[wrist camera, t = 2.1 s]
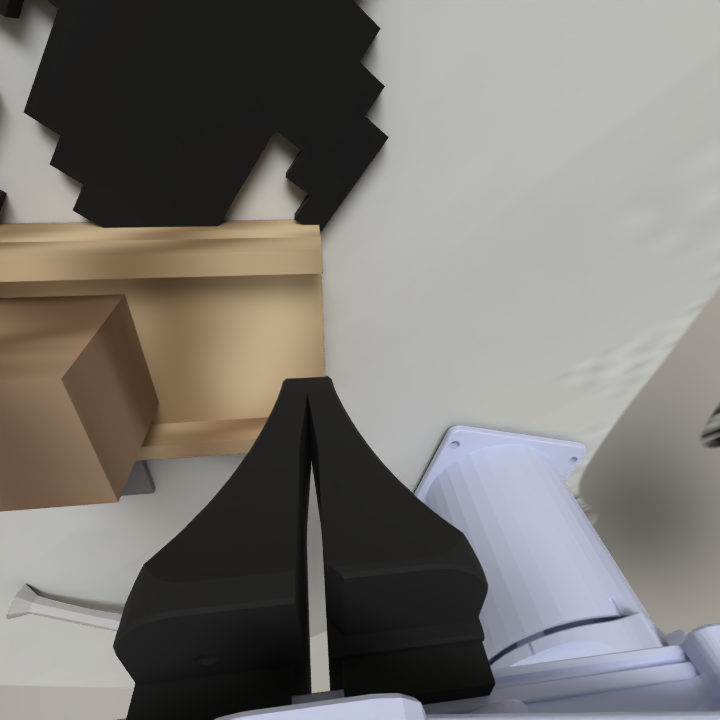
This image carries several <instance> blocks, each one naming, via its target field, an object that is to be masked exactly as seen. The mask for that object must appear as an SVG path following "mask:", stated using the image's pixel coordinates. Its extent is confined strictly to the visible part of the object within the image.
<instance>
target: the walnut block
mask: <svg viewBox="0 0 720 720" xmlns="http://www.w3.org/2000/svg"><path fill="white" fill-rule="evenodd" d="M158 404H159V401H158V398H157V394H156V391H155V388H154V385H153V382H152V379H151V375H150V372H149V369H148V366H147V363H146V360H145V356H144V353H143V350H142V347H141V344H140V340H139V337H138V334H137V331H136V328H135V325H134V321H133V318H132V315H131V312H130V309H129V306H128V302H127V299H126V296H125V294H116V295H83V296H49V297H16V298H0V511H12V510H25V509H38V508H50V507H63V506H76V505H88V504H101V503H114V502H119V499H120V497H121V494H122V492H123V489H124V487H125V485H126V482H127V480H128V477H129V475H130V472H131V470H132V468H133V465H134V463H135V460H136V458H137V455H138V453H139V450H140V448H141V446H142V443H143V441H144V438H145V436H146V433H147V431H148V429H149V426H150V424H151V421H152V419H153V416H154V414H155V412H156V409H157V407H158Z"/></svg>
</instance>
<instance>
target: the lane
mask: <svg viewBox="0 0 720 720" xmlns="http://www.w3.org/2000/svg"><path fill="white" fill-rule="evenodd" d="M322 273H323V262H322V245H321V237H320V229H319V225H302V224H300V223H299V222H297V221H296V220H251V221H221V222H220V224H219V226H210V227H138V228H103V227H101V226H99V225H98V224H96V223H20V224H0V298H16V297H49V296H83V295H116V294H125V296H126V299H127V302H128V306H129V309H130V312H131V315H132V318H133V321H134V325H135V328H136V331H137V334H138V337H139V340H140V344H141V347H142V350H143V353H144V356H145V360H146V363H147V366H148V369H149V372H150V375H151V379H152V382H153V385H154V388H155V391H156V394H157V398H158V401H159V404H158V407H157V409H156V412H155V414H154V416H153V419H152V421H151V424H150V426H149V429H148V431H147V433H146V436H145V438H144V441H143V443H142V446H141V448H140V450H139V453H138V455H137V458H136V460H135V463H134V465H133V468H132V470H131V472H130V475H129V477H128V480H127V482H126V485H125V487H124V489H123V492H122V494H121V496H123V495H136V494H149V493H154V490H155V486H154V484H153V481H152V478H151V476H150V473H149V470H148V468H147V465H146V462H145V460H155V459H169V458H184V457H198V456H213V455H227V454H242V453H248V452H249V451H250V449H251V448H252V446H253V444H254V443H255V441H256V439H257V438H258V436H259V434H260V432H261V431H262V429H263V427H264V425H265V423H266V421H267V419H268V417H269V415H270V413H271V411H272V409H273V407H274V405H275V403H276V400H277V398H278V395H279V393H280V390H281V386H282V382H283V381H284V380H285V379H289V378H308V377H325V365H324V333H323V301H322Z"/></svg>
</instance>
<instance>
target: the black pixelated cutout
mask: <svg viewBox="0 0 720 720" xmlns="http://www.w3.org/2000/svg"><path fill="white" fill-rule="evenodd" d="M48 1H49V2H50V3H52V4H53V5H54V6H56V7H57V8H58V12H57V15H56V18H55V21H54V24H53V27H52V30H51V33H50V36H49V39H48V42H47V45H46V47H45V50H44V53H43V56H42V59H41V62H40V65H39V68H38V71H37V74H36V77H35V80H34V83H33V86H32V89H31V92H30V95H29V98H28V101H27V104H26V107H25V110H24V113H25V114H27V115H29V116H30V117H32V118H33V119H35V120H37V121H38V122H40V123H41V124H43V125H45V126H46V127H48V128H49V129H51V130H52V131H54V132H56V133H57V134H59V135H60V139H59V141H58V144H57V146H56V149H55V152H54V154H53V157H52V159H51V162H50V165H52V166H53V167H55V168H57V169H58V170H60V171H62V172H63V173H65V174H67V175H68V176H70V177H72V178H73V179H75V180H77V181H78V182H80V183H82V184H83V187H82V190H81V192H80V194H79V197H78V199H77V201H76V204H75V206H74V208H73V211H75V212H76V213H78V214H80V215H82V216H83V217H85V218H87V219H89V220H90V221H92V222H94V223H96V224H98V225H99V226H101V227H103V228H138V227H210V226H219V224H220V222H221V221H222V219H223V217H224V216H225V214H226V212H227V211H228V209H229V207H230V206H231V204H232V202H233V200H234V199H235V197H236V195H237V194H238V192H239V190H240V189H241V187H242V185H243V184H244V182H245V180H246V179H247V177H248V175H249V174H250V172H251V170H252V169H253V167H254V165H255V164H256V162H257V160H258V159H259V157H260V155H261V154H262V152H263V150H264V149H265V147H266V145H267V144H268V142H269V140H270V139H271V137H272V135H273V133H274V132H275V130H277V131H278V132H279V133H281V134H282V135H283V136H284V137H286V138H287V139H288V140H290V141H291V142H292V143H293V144H295V145H296V146H297V147H298V148H300V149H301V150H300V152H299V153H298V155H297V157H296V158H295V160H294V161H293V163H292V165H291V166H290V168H289V169H288V171H287V172H286V178H288V179H289V180H290V181H292V182H293V183H294V184H296V185H297V186H298V187H300V188H301V189H302V190H304V191H305V192H306V193H308V195H307V196H306V198H305V199H304V201H303V202H302V204H301V205H300V207H299V208H298V210H297V211H296V213H295V220H296V221H297V222H299V223H300V224H302V225H319V229H320V233H321V231H322V230H323V228H324V227H325V226H326V224H327V223H328V221H329V220H330V219H331V217H332V216H333V214H334V213H335V212H336V210H337V209H338V207H339V206H340V205H341V203H342V202H343V200H344V199H345V198H346V196H347V195H348V193H349V192H350V191H351V189H352V188H353V186H354V185H355V184H356V182H357V181H358V179H359V178H360V177H361V175H362V174H363V172H364V171H365V170H366V168H367V167H368V166H369V164H370V163H371V161H372V160H373V159H374V157H375V156H376V154H377V153H378V152H379V150H380V149H381V147H382V146H383V145H384V143H385V142H386V140H387V139H388V138H389V137H388V136H386V135H385V134H384V133H383V132H382V131H381V130H380V129H379V128H378V127H376V126H375V125H374V124H373V123H372V122H371V121H370V120H369V119H367V118H366V117H365V115H366V113H367V112H368V110H369V109H370V107H371V106H372V104H373V103H374V102H375V100H376V99H377V97H378V96H379V94H380V93H381V91H382V90H383V88H384V87H385V86H384V85H383V84H382V83H381V82H380V81H379V80H378V79H377V78H376V77H374V76H373V75H372V74H371V73H370V72H369V71H368V70H367V69H366V68H365V67H364V66H363V65H362V64H361V63H360V62H359V61H360V60H361V58H362V57H363V55H364V54H365V52H366V50H367V49H368V47H369V46H370V44H371V43H372V41H373V39H374V38H375V36H376V35H377V33H378V32H379V30H380V28H379V27H378V26H377V25H376V24H375V22H374V21H373V20H372V19H371V18H370V17H369V16H368V15H367V14H366V13H365V12H364V11H363V10H362V9H361V8H360V7H359V6H358V5H357V4H356V3H355V2H354V1H353V0H48ZM23 2H24V0H0V14H2V15H3V16H5V17H11V18H18V19H19V16H20V12H21V9H22V6H23ZM5 196H6V193H5V192H4V191H2V190H0V210H1V208H2V205H3V202H4V199H5Z"/></svg>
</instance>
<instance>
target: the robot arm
mask: <svg viewBox="0 0 720 720" xmlns="http://www.w3.org/2000/svg"><path fill="white" fill-rule="evenodd" d="M454 441H456V442H454ZM451 442H454V443H451ZM586 452H587V449H586V448H585V447H584V445H583V444H582V443H579V442H572V441H565V440H559V439H552V438H545V437H538V436H531V435H524V434H517V433H510V432H503V431H496V430H489V429H482V428H476V427H469V426H462V425H456V426H453V427H451V428H450V429H449V430H448V431H447V433H446V435H445V437H444V439H443V441H442V443H441V444H440V446H439V448H438V450H437V452H436V454H435V456H434V458H433V460H432V461H431V463H430V465H429V467H428V469H427V471H426V473H425V475H424V477H423V478H422V480H421V482H420V484H419V486H418V488H417V490H416V492H415V494H413V493H412V492H411V491H410V490H409V489H408V488H407V487H406V486H405V485H403V484H402V483H401V482H400V481H399V480H398V479H397V478H396V477H395V476H394V475H393V474H392V473H391V471H390V470H389V469H388V468H387V467H386V466H385V465H384V464H383V463H382V461H381V460H380V459H379V458H378V457H377V456H376V454H375V453H374V452H373V451H372V449H371V448H370V447H369V446H368V444H367V443H366V441H365V440H364V439H363V437H362V436H361V434H360V433H359V432H358V430H357V429H356V427H355V426H354V424H353V422H352V421H351V419H350V417H349V416H348V414H347V412H346V411H345V409H344V407H343V405H342V403H341V401H340V399H339V397H338V395H337V393H336V391H335V388H334V386H333V383H332V379H331V378H329V377H328V376H326V377H308V378H289V379H285V380H284V381H283V382H282V386H281V390H280V393H279V395H278V398H277V400H276V403H275V405H274V407H273V409H272V411H271V413H270V415H269V417H268V419H267V421H266V423H265V425H264V427H263V429H262V431H261V432H260V434H259V436H258V438H257V439H256V441H255V443H254V444H253V446H252V448H251V449H250V451H249V452H248V454H247V455H246V457H245V458H244V460H243V461H242V463H241V464H240V465H239V467H238V468H237V469H236V471H235V472H234V474H233V475H232V476H231V477H230V479H229V480H228V481H227V482H226V484H225V485H224V486H223V487H222V488H221V490H220V491H219V492H218V493H217V494H216V496H215V497H214V498H213V499H212V500H211V501H210V502H209V504H208V505H207V506H206V507H205V508H204V509H203V510H202V511H201V512H200V513H199V514H198V515H197V516H196V517H195V518H194V519H193V520H192V521H191V522H190V523H189V524H188V525H187V526H186V527H185V528H184V529H183V530H182V531H181V532H180V533H179V534H178V535H177V536H176V537H175V538H173V539H172V540H171V541H170V542H169V543H168V544H167V545H166V546H164V547H163V548H162V549H161V550H160V551H159V552H158V553H156V554H155V555H154V556H153V557H152V558H151V559H150V560H148V561H147V562H146V563H145V564H144V565H143V567H142V569H141V571H140V573H139V575H138V577H137V579H136V581H135V583H134V586H133V588H132V590H131V592H130V594H129V597H128V599H127V602H126V604H125V607H124V610H123V614H122V617H121V620H120V624H119V627H118V630H117V634H116V637H115V641H114V645H113V648H114V650H115V653H116V656H117V657H118V658H119V660H120V661H121V663H122V664H123V666H124V667H125V669H126V670H127V671H128V673H129V674H130V676H131V677H132V679H133V680H134V682H135V687H134V691H133V695H132V699H131V703H130V706H129V710H128V715H127V718H125V719H118V720H720V623H714V624H708V625H704V626H701V627H698V628H696V629H694V630H692V631H691V632H690V633H687V632H685V631H683V630H677V631H674V632H672V633H669V634H667V635H666V634H664V633H663V632H662V631H661V630H660V629H659V628H658V627H657V626H656V625H655V624H654V623H653V621H652V620H651V618H650V617H649V615H648V613H647V612H646V610H645V609H644V607H643V606H642V604H641V602H640V601H639V599H638V598H637V596H636V594H635V593H634V591H633V590H632V588H631V587H630V585H629V584H628V582H627V580H626V579H625V577H624V575H623V574H622V572H621V571H620V569H619V568H618V566H617V564H616V563H615V561H614V560H613V558H612V557H611V555H610V553H609V552H608V550H607V549H606V547H605V545H604V544H603V542H602V541H601V539H600V537H599V536H598V534H597V533H596V531H595V530H594V528H593V526H592V525H591V523H590V522H589V520H588V518H587V517H586V515H585V514H584V512H583V511H582V509H581V507H580V506H579V504H578V503H577V501H576V499H575V498H574V496H573V495H572V493H571V492H570V490H569V488H568V487H567V485H566V484H565V482H564V481H565V480H566V478H567V477H568V476H569V474H570V473H571V472H572V471H573V469H574V468H575V467H576V466H577V464H578V463H579V462H580V461H581V459H582V458H583V457H584V455H585V454H586ZM311 460H312V467H313V474H314V481H315V487H316V494H317V501H318V508H319V515H320V522H321V531H322V541H323V560H324V579H325V598H326V617H327V636H328V656H329V675H330V691H327V692H320V693H312V694H311V666H310V635H309V603H308V569H307V520H308V505H309V490H310V474H311Z"/></svg>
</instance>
